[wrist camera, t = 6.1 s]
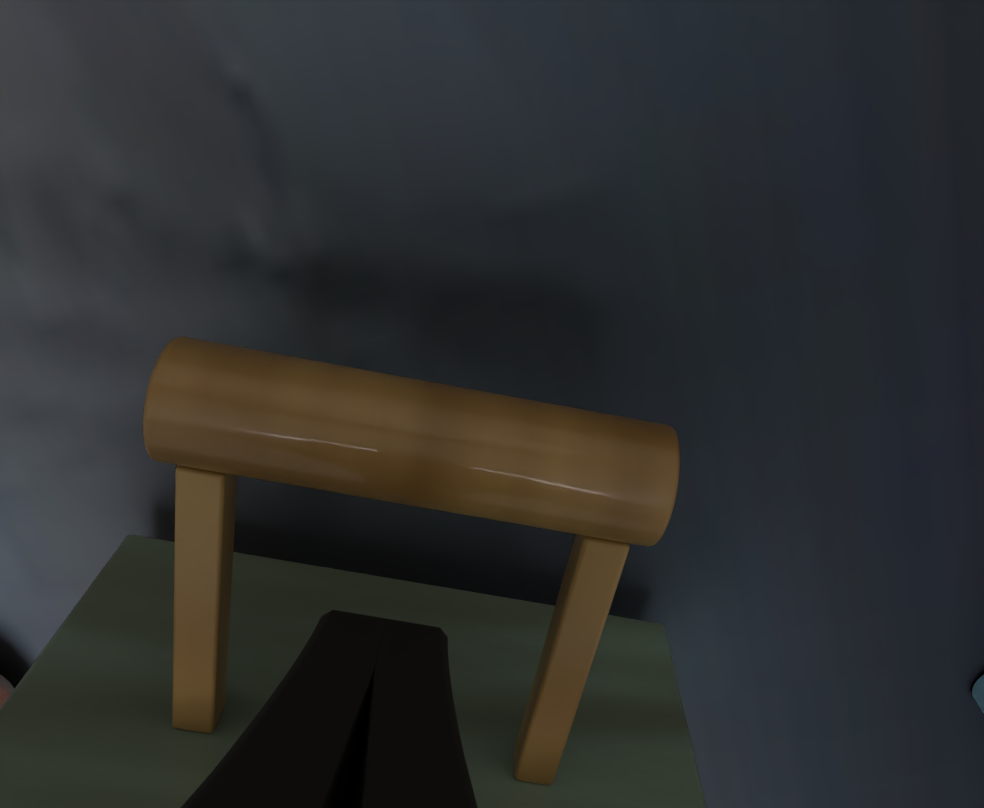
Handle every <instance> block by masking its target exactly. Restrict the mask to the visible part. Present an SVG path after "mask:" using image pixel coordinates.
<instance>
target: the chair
mask: <svg viewBox="0 0 984 808" xmlns="http://www.w3.org/2000/svg"><path fill="white" fill-rule="evenodd" d="M972 695H973V697H974V699H975V700H976V702H977V703H978V705H979V707H980V708H981V710H982V712H983V713H984V675H982V676H981V677H980V678H979V679H978V680H977V681H976V683H975V684H974V686H973V689H972Z"/></svg>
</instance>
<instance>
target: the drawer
mask: <svg viewBox="0 0 984 808" xmlns="http://www.w3.org/2000/svg"><path fill="white" fill-rule="evenodd" d="M143 438H144V444H145V448H146V451H147V453H148V455H149V456H150V457H151V458H152V459H154V460H155V461H157V462H163V463H168V464H174V465H178V466H177V468H176V473H175V542H172V541H166V540H160V539H154V538H148V537H142V536H136V535H128V536H127V537H126V538H125V539H124V541H123V542H122V543H121V545H120V546H119V547H118V549H117V550H116V551H115V553H114V554H113V556H112V557H111V558H110V560H109V561H108V562H107V564H106V565H105V566H104V568H103V569H102V571H101V572H100V573H99V575H98V576H97V577H96V579H95V580H94V581H93V583H92V584H91V586H90V587H89V588H88V590H87V591H86V592H85V594H84V595H83V596H82V598H81V599H80V600H79V602H78V603H77V605H76V606H75V607H74V609H73V610H72V611H71V613H70V614H69V615H68V617H67V618H66V620H65V621H64V622H63V624H62V625H61V626H60V628H59V629H58V630H57V632H56V633H55V634H54V636H53V637H52V639H51V640H50V641H49V643H48V644H47V645H46V647H45V648H44V649H43V651H42V652H41V654H40V655H39V656H38V658H37V659H36V660H35V662H34V663H33V664H32V666H31V667H30V669H29V670H28V671H27V673H26V674H25V675H24V677H23V678H22V679H21V681H20V682H19V683H18V685H17V686H16V688H15V689H14V690H13V692H12V693H11V694H10V696H9V697H8V698H7V700H6V701H5V703H4V704H3V705H2V707H1V708H0V808H181V807H182V805H183V804H184V803H185V802H186V801H187V800H188V799H189V797H190V796H191V795H192V794H193V793H194V792H195V791H196V789H197V788H198V787H199V786H200V785H201V784H202V783H203V781H204V780H205V779H206V778H207V777H208V776H209V774H210V773H211V772H212V771H213V770H214V768H215V767H216V766H217V765H218V764H219V762H220V761H221V760H222V759H223V758H224V756H225V755H226V754H227V752H228V751H229V750H230V749H231V747H232V746H233V745H234V743H235V742H236V741H237V740H238V738H239V737H240V736H241V734H242V733H243V732H244V731H245V729H246V728H247V727H248V725H249V724H250V723H251V722H252V720H253V719H254V718H255V716H256V715H257V714H258V713H259V711H260V710H261V709H262V707H263V706H264V705H265V703H266V702H267V701H268V699H269V698H270V697H271V695H272V694H273V692H274V691H275V690H276V688H277V687H278V685H279V684H280V682H281V681H282V680H283V678H284V677H285V675H286V674H287V673H288V671H289V670H290V668H291V667H292V665H293V664H294V662H295V661H296V659H297V658H298V656H299V654H300V653H301V651H302V650H303V648H304V647H305V645H306V643H307V642H308V640H309V638H310V637H311V635H312V633H313V631H314V630H315V628H316V626H317V624H318V622H319V620H320V618H321V616H322V615H324V614H326V613H328V612H330V611H331V610H338V611H344V612H350V613H356V614H362V615H368V616H374V617H380V618H386V619H392V620H398V621H404V622H410V623H416V624H422V625H428V626H434V627H440V628H441V629H442V630H443V632H444V633H445V634H446V635H447V637H448V659H449V671H450V679H451V687H452V693H453V700H454V706H455V711H456V717H457V722H458V727H459V733H460V737H461V742H462V746H463V751H464V756H465V760H466V764H467V768H468V772H469V776H470V779H471V783H472V787H473V791H474V795H475V799H476V803H477V807H478V808H707V807H706V803H705V798H704V794H703V790H702V786H701V781H700V777H699V773H698V769H697V764H696V760H695V756H694V751H693V747H692V743H691V739H690V734H689V730H688V726H687V721H686V717H685V713H684V709H683V704H682V700H681V696H680V692H679V687H678V683H677V679H676V674H675V670H674V666H673V662H672V657H671V653H670V649H669V644H668V640H667V636H666V632H665V627H664V625H662V624H660V623H655V622H649V621H643V620H637V619H631V618H625V617H619V616H613V615H608V613H609V610H610V607H611V604H612V601H613V598H614V595H615V592H616V589H617V585H618V582H619V579H620V576H621V573H622V570H623V567H624V564H625V561H626V558H627V555H628V552H629V549H630V547H629V543H630V544H636V545H642V546H652V545H655V544H656V543H657V542H658V541H659V540H660V539H661V537H662V536H663V534H664V532H665V530H666V528H667V525H668V523H669V520H670V518H671V514H672V511H673V508H674V504H675V499H676V494H677V489H678V482H679V471H680V451H679V443H678V438H677V434H676V432H675V430H674V429H673V428H672V427H670V426H669V425H666V424H660V423H655V422H649V421H644V420H638V419H633V418H627V417H622V416H616V415H611V414H605V413H600V412H594V411H589V410H583V409H578V408H572V407H567V406H561V405H556V404H550V403H545V402H539V401H534V400H528V399H523V398H517V397H512V396H506V395H501V394H495V393H490V392H485V391H479V390H474V389H468V388H463V387H457V386H452V385H446V384H441V383H435V382H430V381H424V380H419V379H413V378H408V377H402V376H397V375H391V374H386V373H380V372H375V371H369V370H364V369H358V368H353V367H347V366H342V365H336V364H331V363H325V362H320V361H314V360H309V359H303V358H298V357H292V356H287V355H281V354H276V353H270V352H265V351H260V350H254V349H249V348H243V347H238V346H232V345H227V344H221V343H216V342H210V341H205V340H199V339H194V338H188V337H183V336H182V337H177V338H174V339H172V340H171V341H170V342H169V343H168V344H167V345H166V346H165V348H164V349H163V351H162V352H161V354H160V356H159V358H158V360H157V362H156V364H155V367H154V369H153V372H152V375H151V378H150V381H149V385H148V389H147V393H146V398H145V404H144V412H143ZM237 475H238V476H243V477H249V478H255V479H261V480H266V481H272V482H278V483H284V484H290V485H295V486H301V487H307V488H313V489H318V490H324V491H330V492H336V493H341V494H347V495H353V496H359V497H365V498H370V499H376V500H382V501H388V502H393V503H399V504H405V505H411V506H417V507H422V508H428V509H434V510H440V511H445V512H451V513H457V514H463V515H469V516H474V517H480V518H486V519H492V520H497V521H503V522H509V523H515V524H520V525H526V526H532V527H538V528H544V529H549V530H555V531H561V532H567V533H572V534H576V535H575V538H574V542H573V545H572V549H571V552H570V556H569V559H568V563H567V566H566V570H565V573H564V577H563V580H562V584H561V587H560V591H559V594H558V598H557V601H556V605H555V606H554V605H548V604H542V603H536V602H530V601H524V600H518V599H512V598H506V597H500V596H494V595H488V594H482V593H476V592H470V591H464V590H458V589H452V588H446V587H440V586H434V585H428V584H423V583H417V582H411V581H405V580H399V579H393V578H387V577H381V576H375V575H369V574H363V573H357V572H351V571H345V570H339V569H333V568H327V567H321V566H315V565H309V564H303V563H297V562H291V561H285V560H279V559H274V558H268V557H262V556H256V555H250V554H244V553H238V552H233V549H234V530H235V511H236V492H237Z"/></svg>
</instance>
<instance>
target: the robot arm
mask: <svg viewBox="0 0 984 808" xmlns="http://www.w3.org/2000/svg"><path fill="white" fill-rule="evenodd" d="M181 808H478V807H477V803H476V799H475V795H474V791H473V787H472V783H471V779H470V776H469V772H468V768H467V764H466V760H465V756H464V751H463V746H462V742H461V737H460V733H459V727H458V722H457V717H456V711H455V706H454V700H453V693H452V687H451V679H450V671H449V659H448V637H447V635H446V634H445V633H444V632H443V630H442V629H441V628H440V627H434V626H428V625H422V624H416V623H410V622H404V621H398V620H392V619H386V618H380V617H374V616H368V615H362V614H356V613H350V612H344V611H338V610H331V611H330V612H328V613H326V614H324V615H322V616H321V618H320V620H319V622H318V624H317V626H316V628H315V630H314V631H313V633H312V635H311V637H310V638H309V640H308V642H307V643H306V645H305V647H304V648H303V650H302V651H301V653H300V654H299V656H298V658H297V659H296V661H295V662H294V664H293V665H292V667H291V668H290V670H289V671H288V673H287V674H286V675H285V677H284V678H283V680H282V681H281V682H280V684H279V685H278V687H277V688H276V690H275V691H274V692H273V694H272V695H271V697H270V698H269V699H268V701H267V702H266V703H265V705H264V706H263V707H262V709H261V710H260V711H259V713H258V714H257V715H256V716H255V718H254V719H253V720H252V722H251V723H250V724H249V725H248V727H247V728H246V729H245V731H244V732H243V733H242V734H241V736H240V737H239V738H238V740H237V741H236V742H235V743H234V745H233V746H232V747H231V749H230V750H229V751H228V752H227V754H226V755H225V756H224V758H223V759H222V760H221V761H220V762H219V764H218V765H217V766H216V767H215V768H214V770H213V771H212V772H211V773H210V774H209V776H208V777H207V778H206V779H205V780H204V781H203V783H202V784H201V785H200V786H199V787H198V788H197V789H196V791H195V792H194V793H193V794H192V795H191V796H190V797H189V799H188V800H187V801H186V802H185V803H184V804H183V805H182V807H181Z"/></svg>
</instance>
